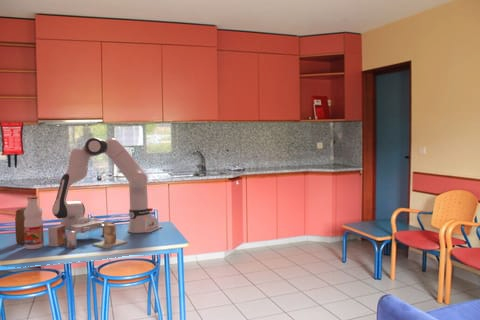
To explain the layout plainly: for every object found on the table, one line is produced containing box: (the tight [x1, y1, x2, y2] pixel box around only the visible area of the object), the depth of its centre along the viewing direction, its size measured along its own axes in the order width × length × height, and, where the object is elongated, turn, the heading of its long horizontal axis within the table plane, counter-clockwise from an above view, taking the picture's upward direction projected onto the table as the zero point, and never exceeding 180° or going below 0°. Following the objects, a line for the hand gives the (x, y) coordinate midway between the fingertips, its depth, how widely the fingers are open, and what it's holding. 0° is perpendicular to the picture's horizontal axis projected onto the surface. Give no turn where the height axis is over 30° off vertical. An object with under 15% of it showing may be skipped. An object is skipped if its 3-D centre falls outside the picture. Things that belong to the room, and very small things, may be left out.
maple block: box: [103, 223, 117, 244], centre depth 233 cm, size 4×4×10 cm
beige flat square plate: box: [92, 238, 128, 250], centre depth 233 cm, size 14×12×1 cm
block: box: [14, 207, 26, 246], centre depth 238 cm, size 11×8×20 cm
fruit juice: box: [24, 195, 45, 250], centre depth 228 cm, size 9×9×28 cm
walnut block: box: [102, 221, 115, 235], centre depth 258 cm, size 5×5×7 cm
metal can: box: [66, 230, 78, 250], centre depth 226 cm, size 5×5×9 cm
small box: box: [47, 224, 67, 247], centre depth 233 cm, size 8×6×10 cm
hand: (96, 227), depth 239 cm, fingers open, 8 cm apart
